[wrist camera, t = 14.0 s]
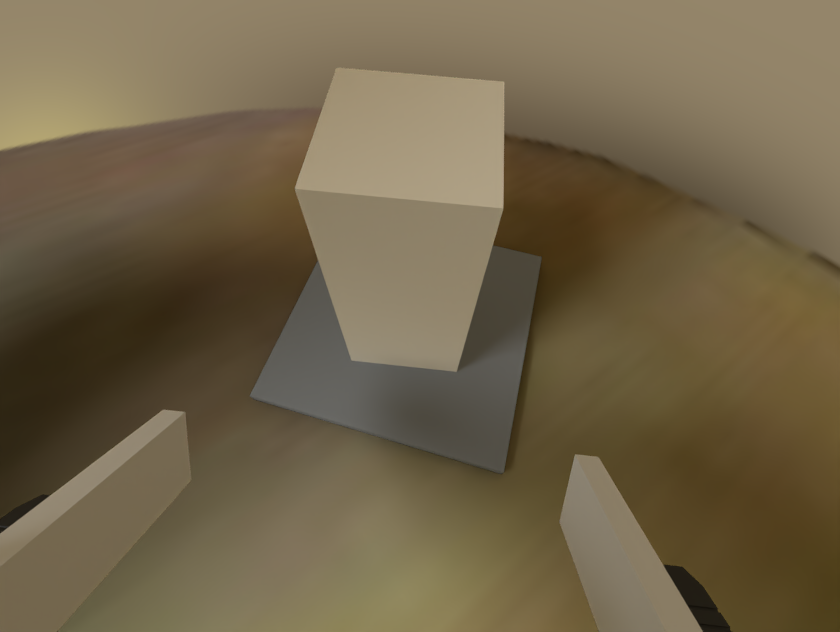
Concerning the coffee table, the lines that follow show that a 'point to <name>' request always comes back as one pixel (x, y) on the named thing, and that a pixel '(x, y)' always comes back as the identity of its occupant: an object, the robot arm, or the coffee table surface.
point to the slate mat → (413, 372)
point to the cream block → (405, 209)
